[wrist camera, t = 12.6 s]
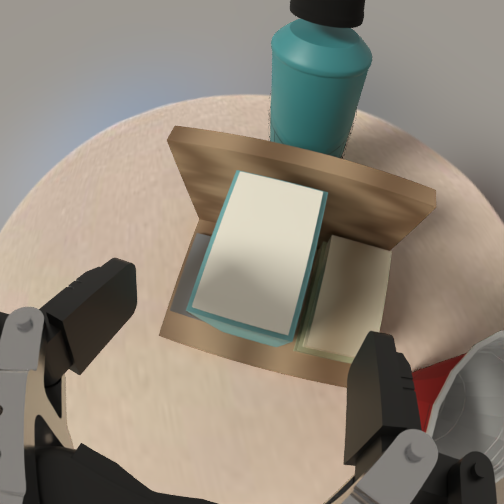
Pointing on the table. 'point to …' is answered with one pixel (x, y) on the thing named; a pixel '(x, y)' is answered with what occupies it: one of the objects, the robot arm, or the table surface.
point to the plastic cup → (466, 402)
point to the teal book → (259, 259)
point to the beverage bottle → (318, 75)
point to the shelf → (326, 255)
